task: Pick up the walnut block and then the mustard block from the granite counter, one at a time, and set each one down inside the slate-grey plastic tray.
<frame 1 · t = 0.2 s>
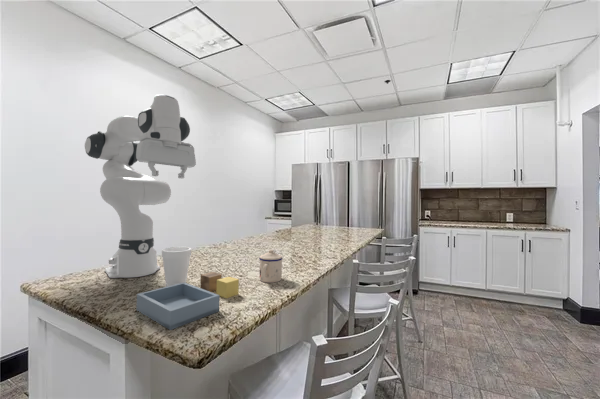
hand: (168, 177, 97), 39 cm above the counter, tool pointing down, fingers open, 8 cm apart
foam cup: (176, 286, 96), on the counter
walnut block: (210, 288, 94), on the counter
teacup with lid: (269, 281, 105), on the counter
tray: (177, 310, 75), on the counter
mustard block: (227, 294, 89), on the counter
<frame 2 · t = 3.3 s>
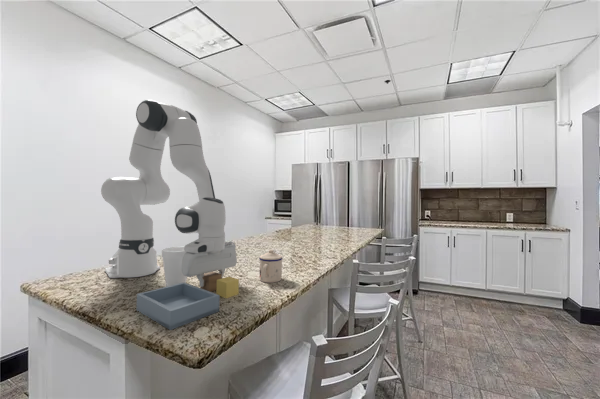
hand: (210, 283, 94), 2 cm above the counter, tool pointing down, fingers closed on walnut block, 5 cm apart
walnut block: (210, 288, 94), on the counter, touching gripper
everything else where it was.
when the fingers open (5 cm above the counter, at t = 8.3 s): walnut block drops 2 cm, resting on tray.
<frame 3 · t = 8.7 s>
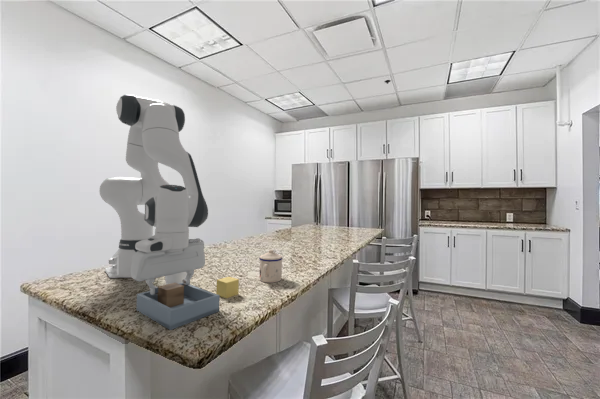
hand: (170, 289, 78), 5 cm above the counter, tool pointing down, fingers open, 8 cm apart
walnut block: (170, 303, 78), point 1 cm above the counter, touching tray
everything else where it was.
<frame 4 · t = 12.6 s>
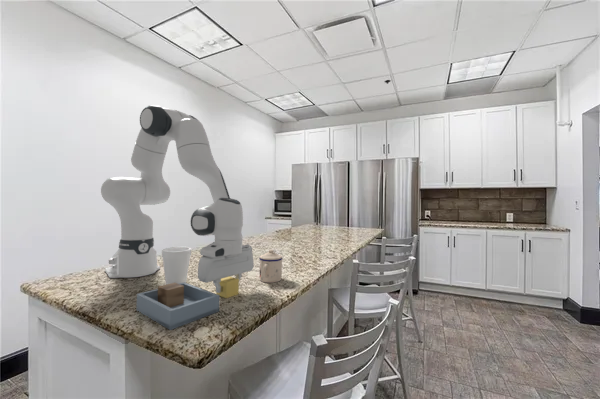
hand: (227, 289, 89), 2 cm above the counter, tool pointing down, fingers closed on mustard block, 5 cm apart
mustard block: (227, 294, 89), on the counter, touching gripper
everything else where it was.
when the fingers open (5 cm above the counter, at t = 17.5 s): mustard block drops 2 cm, resting on tray.
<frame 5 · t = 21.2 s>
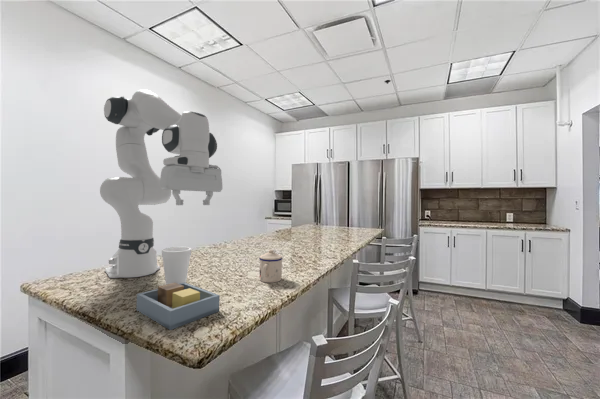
hand: (193, 205, 87), 29 cm above the counter, tool pointing down, fingers open, 8 cm apart
mustard block: (186, 311, 73), point 1 cm above the counter, touching tray
everything else where it was.
at the end: walnut block inside the target area on the tray (4.0 cm from its centre), point 1.0 cm above the tray's base; mustard block inside the target area on the tray (4.0 cm from its centre), point 1.0 cm above the tray's base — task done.
